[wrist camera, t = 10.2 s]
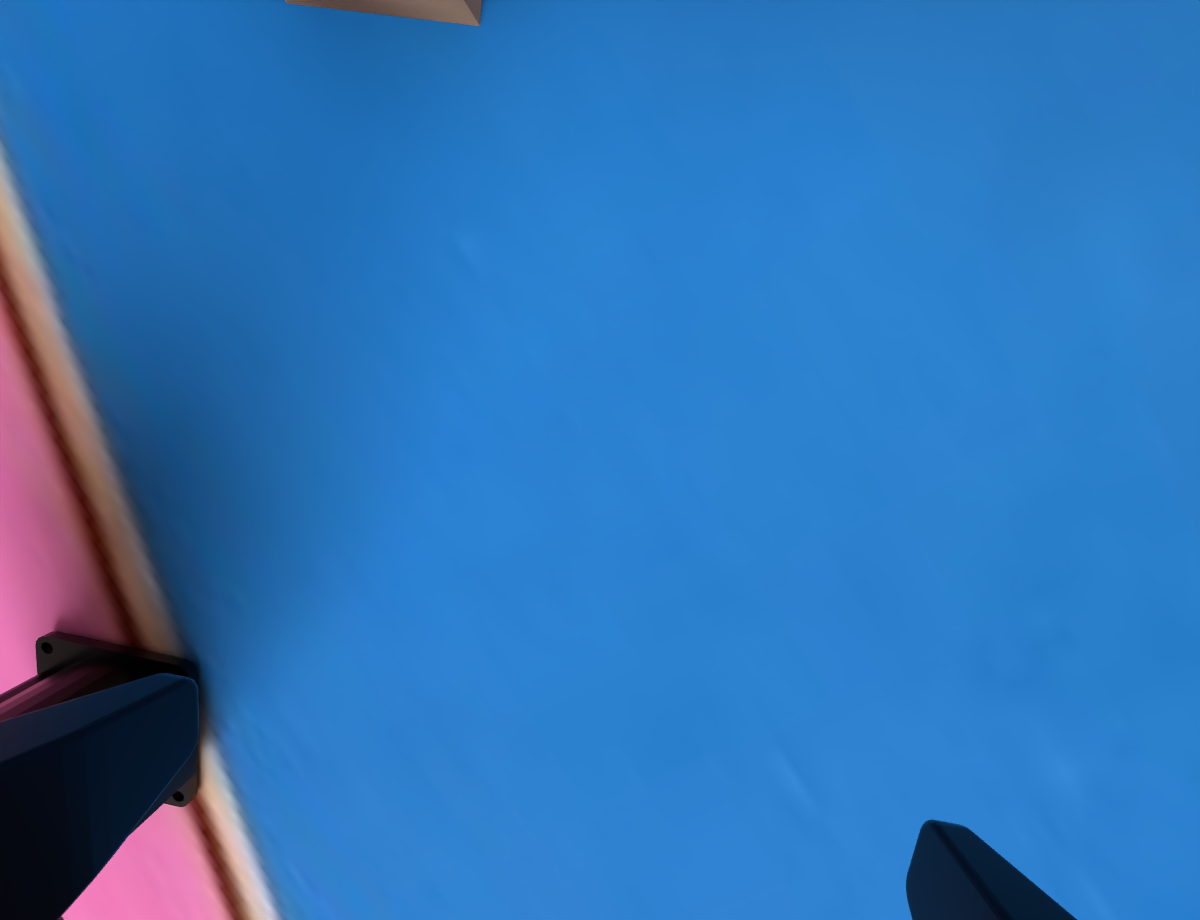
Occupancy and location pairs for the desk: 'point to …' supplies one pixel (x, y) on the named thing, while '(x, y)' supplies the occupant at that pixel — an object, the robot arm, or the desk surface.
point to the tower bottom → (408, 8)
